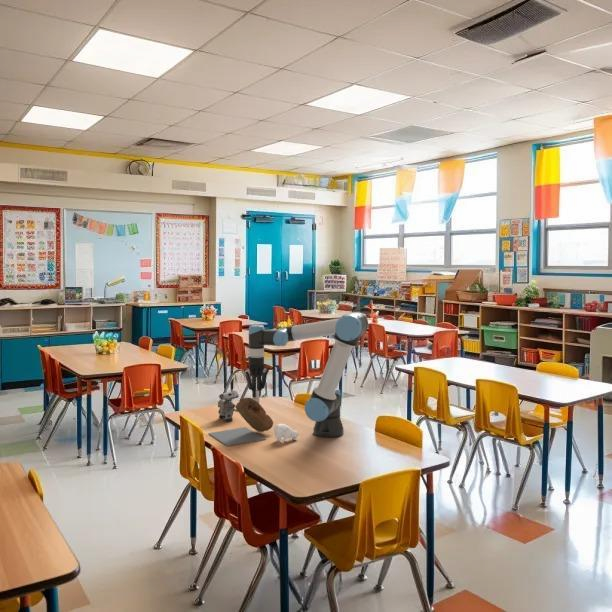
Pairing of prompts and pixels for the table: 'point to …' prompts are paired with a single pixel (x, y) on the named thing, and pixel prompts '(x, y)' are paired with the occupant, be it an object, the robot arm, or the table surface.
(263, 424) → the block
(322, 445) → the table surface
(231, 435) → the mat
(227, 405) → the figurine
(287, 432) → the white lumpy piece
